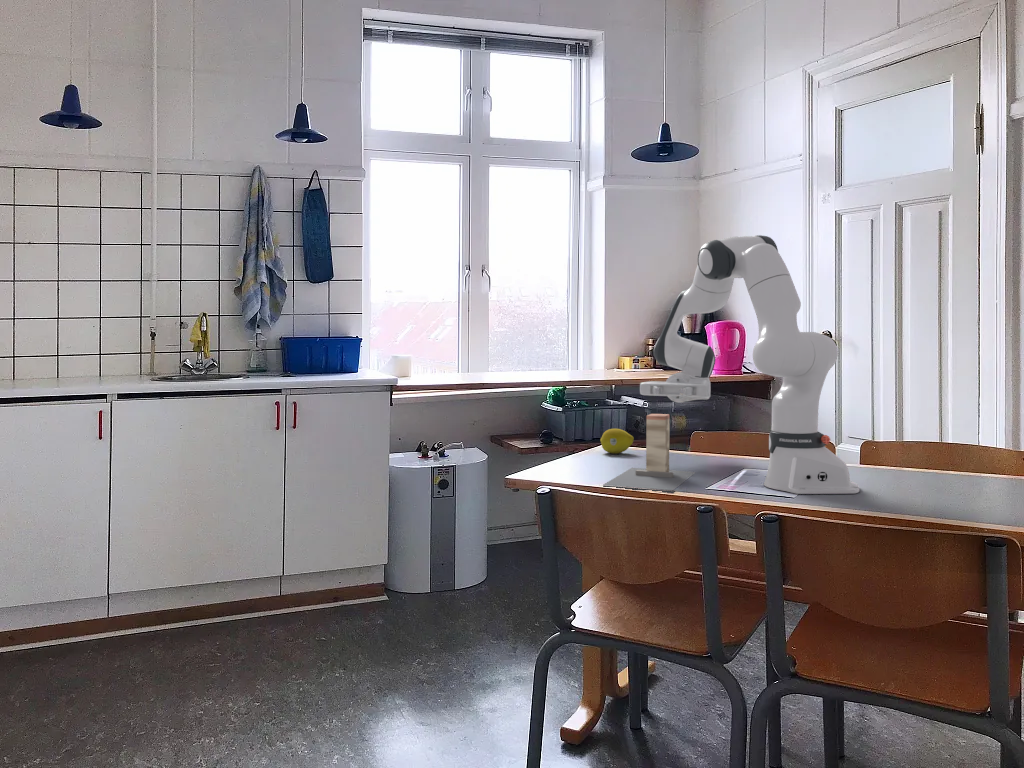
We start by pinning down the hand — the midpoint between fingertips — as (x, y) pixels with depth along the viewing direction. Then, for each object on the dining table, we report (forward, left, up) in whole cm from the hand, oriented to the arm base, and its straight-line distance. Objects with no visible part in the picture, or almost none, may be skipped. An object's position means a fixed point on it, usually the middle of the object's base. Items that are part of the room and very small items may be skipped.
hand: (669, 391), depth 234 cm
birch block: (+3, +12, -21) cm, 25 cm away
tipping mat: (+4, +19, -22) cm, 29 cm away
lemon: (+17, -25, -22) cm, 37 cm away
